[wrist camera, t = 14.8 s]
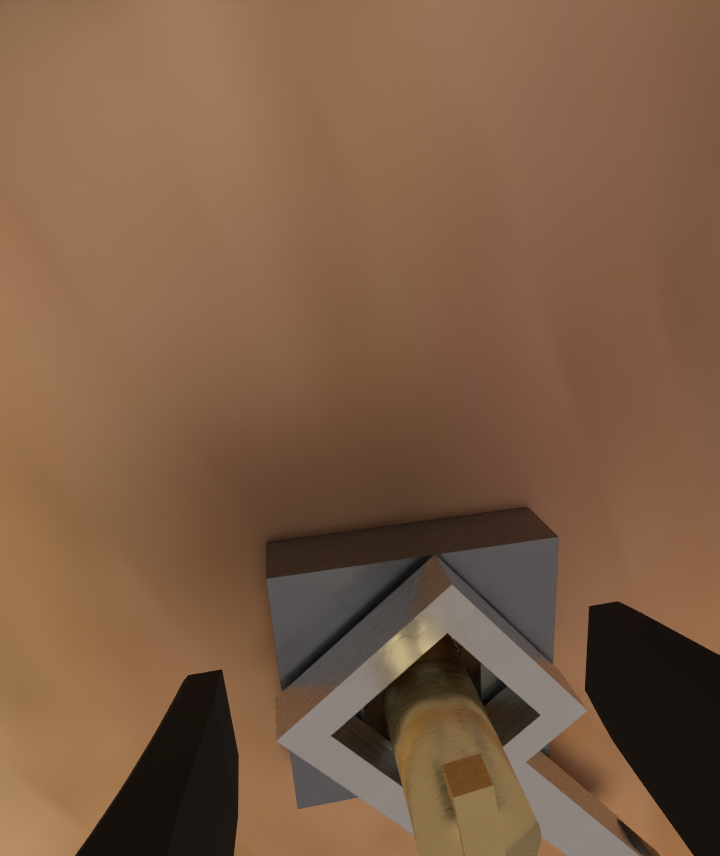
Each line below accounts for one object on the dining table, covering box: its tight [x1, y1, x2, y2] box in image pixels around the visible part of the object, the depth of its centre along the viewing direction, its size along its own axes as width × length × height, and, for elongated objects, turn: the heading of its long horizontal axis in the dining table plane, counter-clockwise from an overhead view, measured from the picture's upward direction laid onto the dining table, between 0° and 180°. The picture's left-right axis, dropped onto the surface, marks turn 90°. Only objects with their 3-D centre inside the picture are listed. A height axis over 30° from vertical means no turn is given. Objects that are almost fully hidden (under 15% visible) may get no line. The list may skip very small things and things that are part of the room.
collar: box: [276, 555, 660, 856], centre depth 21 cm, size 17×7×2 cm, turn 43°
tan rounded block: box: [379, 633, 541, 856], centre depth 18 cm, size 3×5×9 cm, turn 12°
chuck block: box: [266, 507, 558, 809], centre depth 21 cm, size 10×10×2 cm
